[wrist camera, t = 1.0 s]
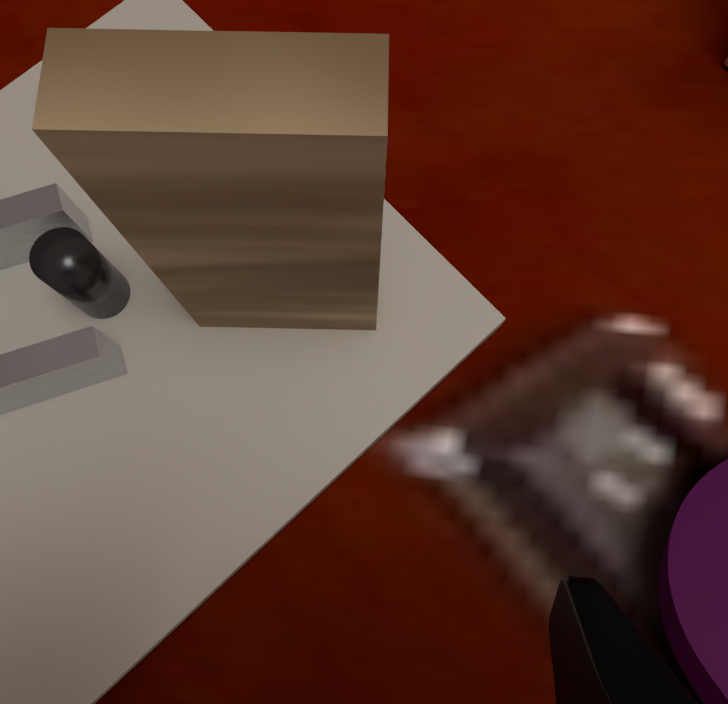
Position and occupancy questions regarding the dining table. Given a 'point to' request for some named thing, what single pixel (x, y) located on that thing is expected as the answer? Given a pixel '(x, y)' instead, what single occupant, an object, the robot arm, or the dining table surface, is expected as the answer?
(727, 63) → the cracker box
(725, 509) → the mounting bracket
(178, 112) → the wooden block
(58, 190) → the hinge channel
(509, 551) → the dining table surface
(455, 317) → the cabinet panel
